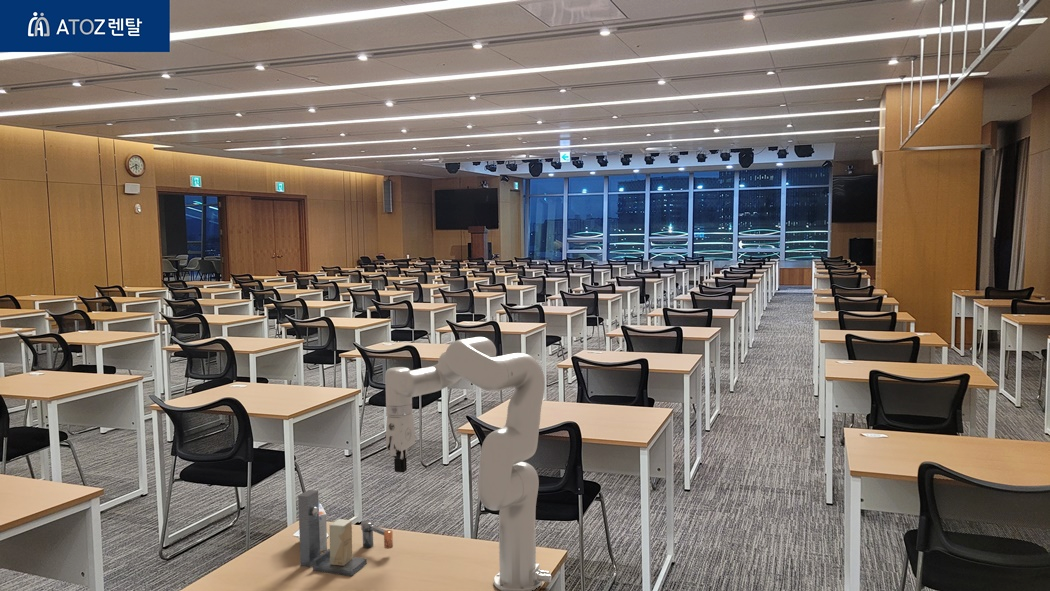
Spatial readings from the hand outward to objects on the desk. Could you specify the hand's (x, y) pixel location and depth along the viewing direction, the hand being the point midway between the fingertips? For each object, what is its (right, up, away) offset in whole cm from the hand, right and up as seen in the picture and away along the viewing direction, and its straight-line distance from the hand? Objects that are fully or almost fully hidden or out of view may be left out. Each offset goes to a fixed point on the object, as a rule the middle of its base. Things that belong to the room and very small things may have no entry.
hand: (400, 471), depth 216 cm
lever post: (-10, -22, 0) cm, 24 cm away
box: (-14, -22, -13) cm, 29 cm away
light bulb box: (-26, -23, +2) cm, 35 cm away
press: (-17, -23, -13) cm, 31 cm away
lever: (-6, -20, -3) cm, 21 cm away
